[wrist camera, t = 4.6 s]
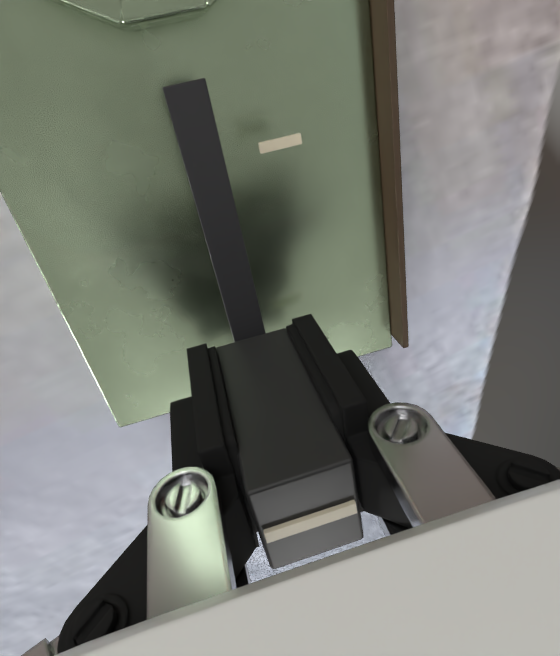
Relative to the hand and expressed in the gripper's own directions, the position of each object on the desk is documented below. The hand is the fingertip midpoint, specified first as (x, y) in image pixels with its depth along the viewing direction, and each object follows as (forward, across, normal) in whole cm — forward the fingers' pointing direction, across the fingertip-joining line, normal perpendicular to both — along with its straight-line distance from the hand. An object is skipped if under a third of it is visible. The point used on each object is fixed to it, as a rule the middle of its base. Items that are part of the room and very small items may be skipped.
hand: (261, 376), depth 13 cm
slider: (0, 0, 0) cm, 0 cm away
